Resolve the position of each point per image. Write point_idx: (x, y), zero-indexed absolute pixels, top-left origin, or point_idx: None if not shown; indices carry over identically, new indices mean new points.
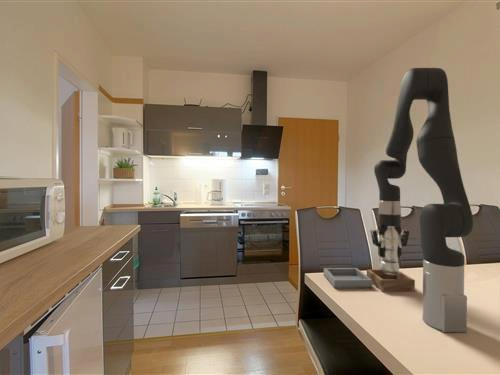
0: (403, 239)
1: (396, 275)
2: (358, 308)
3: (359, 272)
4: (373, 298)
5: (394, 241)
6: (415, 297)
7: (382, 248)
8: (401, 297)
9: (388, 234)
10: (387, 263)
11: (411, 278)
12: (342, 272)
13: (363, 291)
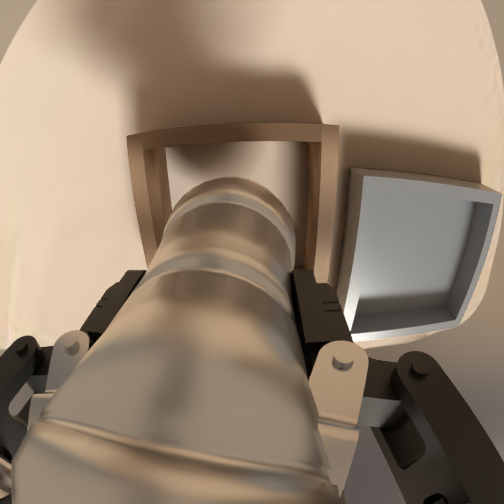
0: (25, 419)
1: None
2: (460, 17)
3: (358, 293)
4: (393, 60)
5: (124, 390)
6: (187, 58)
7: (330, 337)
8: (257, 53)
9: None
10: (271, 215)
11: (131, 163)
12: (397, 317)
13: (403, 134)
